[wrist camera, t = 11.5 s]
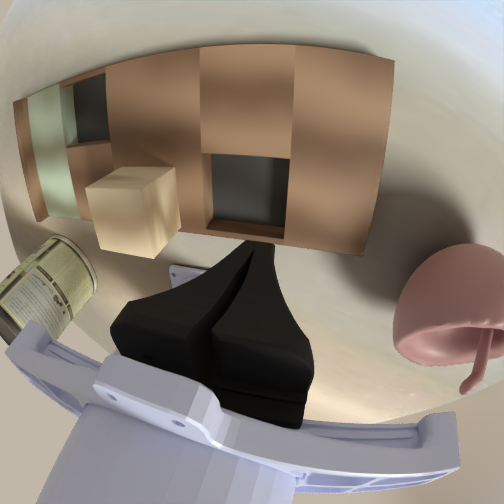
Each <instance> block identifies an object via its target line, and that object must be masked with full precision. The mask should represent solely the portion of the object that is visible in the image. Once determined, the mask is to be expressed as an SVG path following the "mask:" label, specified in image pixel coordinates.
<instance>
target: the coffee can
mask: <svg viewBox="0 0 504 504" xmlns="http://www.w3.org/2000/svg"><path fill="white" fill-rule="evenodd" d="M96 290H97V279H96V275H95V272H94V270H93V268H92V266H91V264H90V262H89V260H88V259H87V258H86V256H85V255H84V254H83V252H82V251H81V250H80V249H79V248H78V247H77V246H76V245H75V244H74V243H73V242H71V241H70V240H69V239H67V238H65V237H63V236H60V235H53V236H51V237H50V238H49V239H48V240H47V241H46V242H45V243H44V244H42V245H41V246H40V247H39V248H38V249H36V250H35V251H34V252H33V253H32V254H31V255H30V256H29V257H27V258H26V259H25V260H24V261H23V262H22V263H21V264H20V265H19V266H18V267H17V268H16V269H14V270H13V271H12V272H11V273H10V274H9V275H8V276H7V277H6V278H5V279H4V280H3V281H2V282H1V283H0V336H1V337H2V338H3V340H4V341H5V342H6V343H7V344H8V345H9V346H10V345H11V343H12V342H13V341H14V339H15V338H16V337H17V336H18V334H19V333H20V332H21V331H22V329H23V328H24V327H25V326H26V325H27V323H28V322H29V321H30V320H34V321H35V322H37V323H39V324H41V325H42V326H44V327H45V328H46V329H47V330H48V332H49V333H50V335H51V336H52V339H54V340H57V339H58V337H59V336H60V335H61V333H62V332H63V331H64V329H65V328H66V327H67V326H68V324H69V323H70V322H71V321H72V319H73V318H74V317H75V316H76V314H77V313H78V312H79V311H80V309H81V308H82V307H83V306H84V305H85V303H86V302H87V301H88V300H89V299H90V297H91V296H92V295H93V294H95V292H96Z"/></svg>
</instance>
